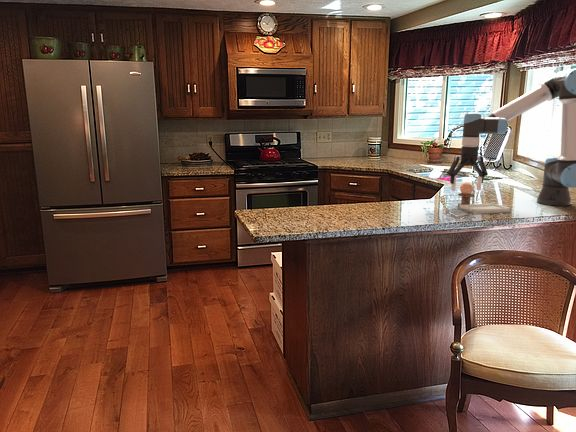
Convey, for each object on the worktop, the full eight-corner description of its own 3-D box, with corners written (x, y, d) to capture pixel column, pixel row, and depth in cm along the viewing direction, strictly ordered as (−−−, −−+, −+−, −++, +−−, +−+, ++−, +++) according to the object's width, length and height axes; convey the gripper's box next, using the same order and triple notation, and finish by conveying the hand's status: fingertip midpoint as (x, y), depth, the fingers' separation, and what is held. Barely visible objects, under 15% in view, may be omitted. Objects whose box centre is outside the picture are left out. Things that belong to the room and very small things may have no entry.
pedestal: (467, 204, 244) (468, 192, 243) (475, 207, 237) (476, 194, 236) (455, 205, 242) (455, 192, 241) (462, 207, 236) (463, 195, 234)
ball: (468, 193, 242) (469, 181, 241) (475, 195, 236) (476, 183, 235) (457, 194, 241) (458, 182, 240) (463, 196, 235) (464, 183, 234)
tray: (495, 207, 237) (495, 203, 236) (510, 212, 225) (511, 208, 225) (459, 208, 233) (459, 204, 233) (472, 213, 222) (473, 209, 221)
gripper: (489, 145, 240) (484, 188, 244) (441, 145, 235) (438, 189, 239) (498, 146, 232) (493, 191, 237) (449, 146, 228) (446, 191, 232)
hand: (465, 190), depth 238 cm, fingers open, 13 cm apart
